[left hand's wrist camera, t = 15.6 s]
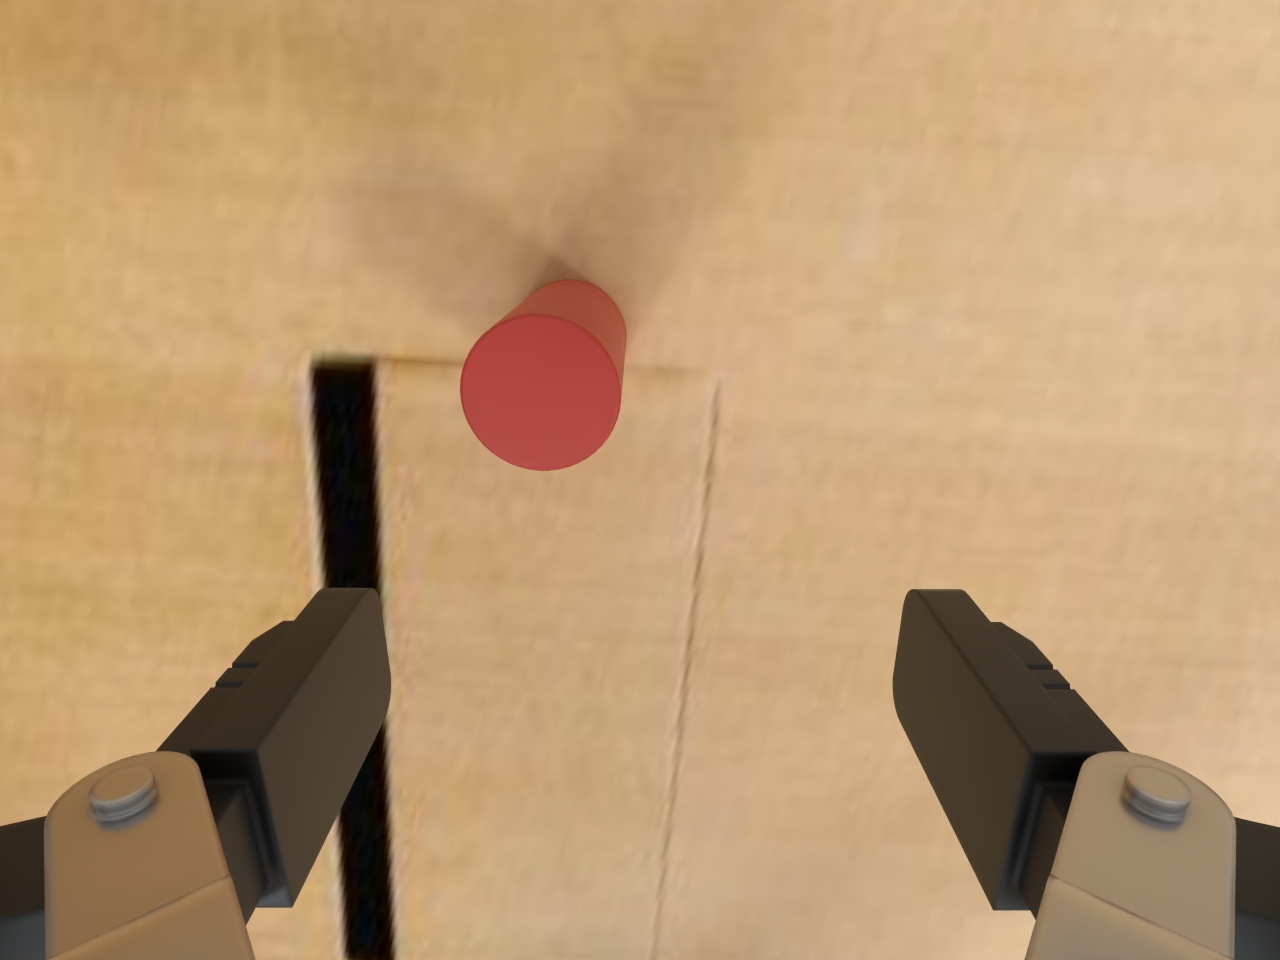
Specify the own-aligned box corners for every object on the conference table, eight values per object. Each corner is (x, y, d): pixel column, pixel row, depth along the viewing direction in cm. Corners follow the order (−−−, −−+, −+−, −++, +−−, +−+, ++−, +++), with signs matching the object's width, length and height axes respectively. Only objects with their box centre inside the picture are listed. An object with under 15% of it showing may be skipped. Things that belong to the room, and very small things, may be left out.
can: (644, 311, 27) (648, 359, 18) (597, 408, 28) (579, 496, 20) (542, 259, 26) (496, 284, 18) (499, 361, 28) (435, 431, 19)
